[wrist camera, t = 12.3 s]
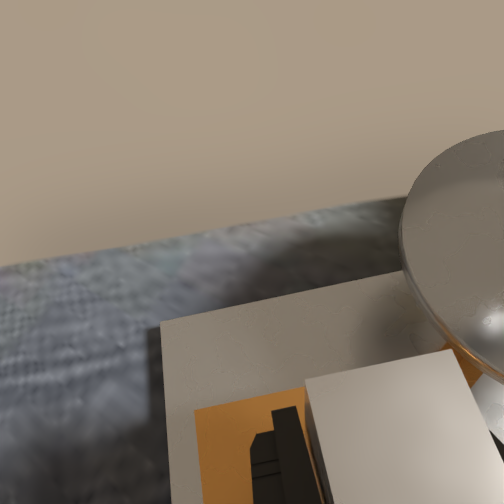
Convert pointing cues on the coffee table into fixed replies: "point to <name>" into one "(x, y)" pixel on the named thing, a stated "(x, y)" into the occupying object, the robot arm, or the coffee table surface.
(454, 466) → the grey rectangular peg
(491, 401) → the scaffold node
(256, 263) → the coffee table surface
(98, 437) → the coffee table surface
